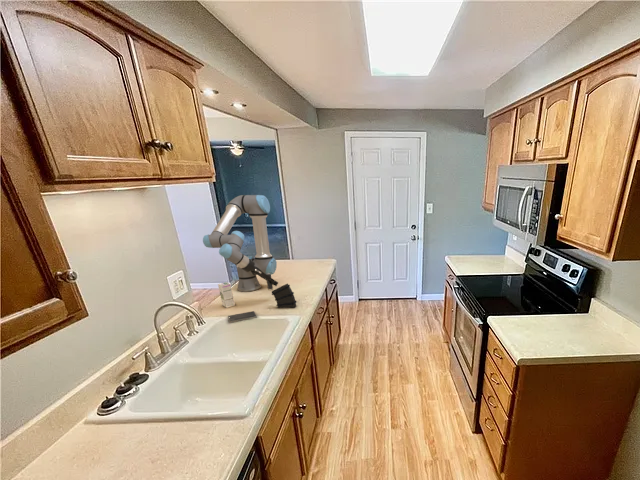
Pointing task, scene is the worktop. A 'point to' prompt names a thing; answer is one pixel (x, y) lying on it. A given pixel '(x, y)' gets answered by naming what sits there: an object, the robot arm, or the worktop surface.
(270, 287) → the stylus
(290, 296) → the black ridged block
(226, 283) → the syrup box
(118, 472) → the worktop surface
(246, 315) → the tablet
